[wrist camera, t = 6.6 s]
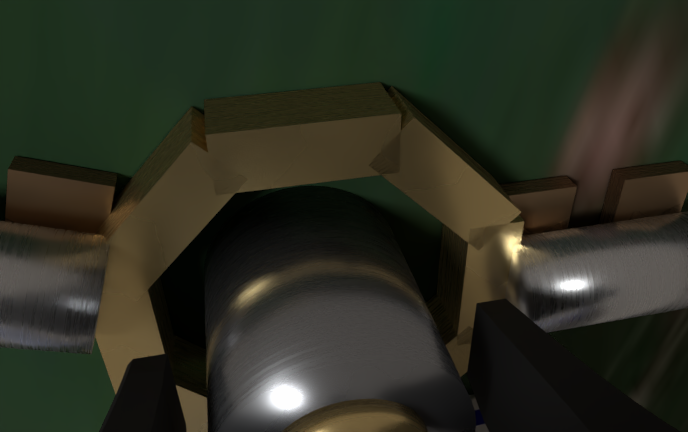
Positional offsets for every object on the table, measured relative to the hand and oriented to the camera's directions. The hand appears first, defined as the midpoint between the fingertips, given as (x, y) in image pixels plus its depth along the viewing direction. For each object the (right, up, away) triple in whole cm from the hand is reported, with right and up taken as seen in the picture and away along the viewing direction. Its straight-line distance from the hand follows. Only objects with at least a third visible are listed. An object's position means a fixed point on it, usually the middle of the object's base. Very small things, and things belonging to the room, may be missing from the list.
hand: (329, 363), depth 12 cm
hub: (-1, +2, +2) cm, 3 cm away
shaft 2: (+6, +3, +3) cm, 7 cm away
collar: (-1, +2, +2) cm, 3 cm away
